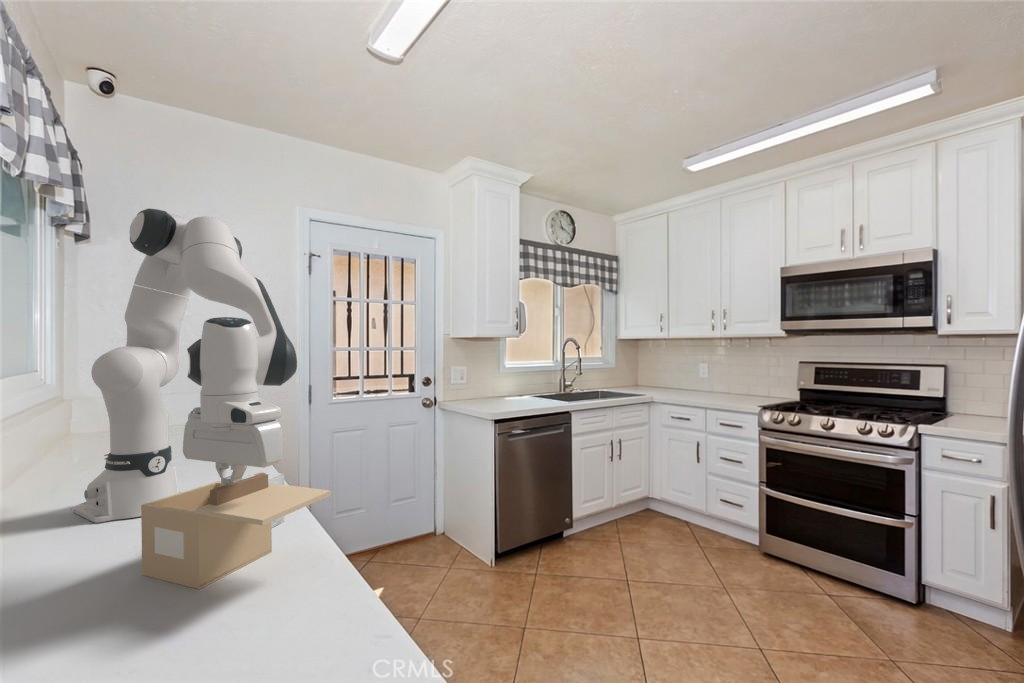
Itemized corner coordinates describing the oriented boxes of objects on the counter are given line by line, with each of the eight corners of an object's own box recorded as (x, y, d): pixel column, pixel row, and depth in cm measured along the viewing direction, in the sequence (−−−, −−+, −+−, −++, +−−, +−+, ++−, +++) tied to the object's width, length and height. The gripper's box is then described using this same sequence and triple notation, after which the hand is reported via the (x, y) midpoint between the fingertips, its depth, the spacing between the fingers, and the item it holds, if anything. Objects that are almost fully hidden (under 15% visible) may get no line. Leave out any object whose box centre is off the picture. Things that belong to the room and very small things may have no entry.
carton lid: (195, 513, 75) (195, 494, 75) (270, 487, 89) (269, 470, 89) (262, 525, 70) (262, 504, 70) (330, 495, 84) (330, 477, 83)
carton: (141, 575, 80) (140, 505, 80) (218, 541, 93) (217, 481, 93) (198, 589, 75) (197, 515, 75) (271, 551, 88) (270, 488, 88)
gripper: (171, 409, 83) (172, 486, 83) (257, 414, 76) (259, 499, 76) (205, 404, 89) (206, 476, 89) (288, 408, 82) (289, 487, 82)
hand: (231, 487), depth 82 cm, fingers closed
